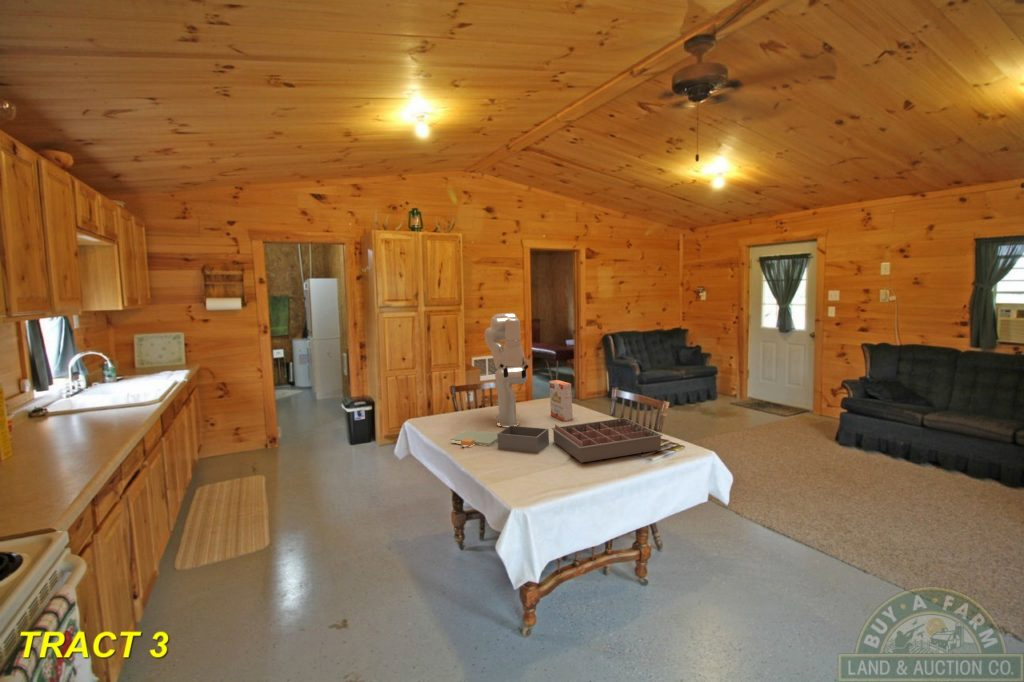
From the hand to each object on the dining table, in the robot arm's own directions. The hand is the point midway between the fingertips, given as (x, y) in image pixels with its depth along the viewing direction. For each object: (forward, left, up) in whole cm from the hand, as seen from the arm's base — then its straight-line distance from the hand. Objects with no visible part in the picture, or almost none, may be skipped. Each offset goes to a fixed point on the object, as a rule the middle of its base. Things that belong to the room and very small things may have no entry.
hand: (514, 377), depth 248 cm
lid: (-16, -14, -30) cm, 37 cm away
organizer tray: (+46, -4, -31) cm, 55 cm away
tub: (+10, -15, -30) cm, 35 cm away
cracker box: (+10, +38, -31) cm, 50 cm away
